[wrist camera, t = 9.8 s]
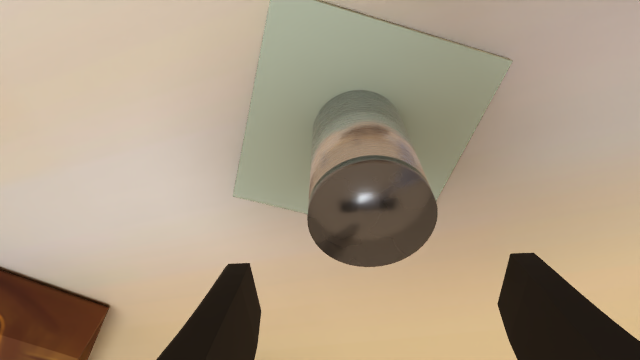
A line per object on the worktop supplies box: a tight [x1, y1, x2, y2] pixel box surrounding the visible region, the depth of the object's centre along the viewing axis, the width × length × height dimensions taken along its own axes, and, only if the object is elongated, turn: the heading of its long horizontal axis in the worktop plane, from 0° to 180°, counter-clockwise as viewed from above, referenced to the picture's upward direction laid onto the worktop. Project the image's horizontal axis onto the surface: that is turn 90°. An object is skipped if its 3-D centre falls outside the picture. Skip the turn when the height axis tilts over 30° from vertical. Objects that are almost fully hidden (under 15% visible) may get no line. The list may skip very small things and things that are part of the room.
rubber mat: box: [233, 0, 513, 214], centre depth 20 cm, size 11×11×1 cm
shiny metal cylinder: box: [308, 90, 437, 267], centre depth 16 cm, size 4×4×7 cm
